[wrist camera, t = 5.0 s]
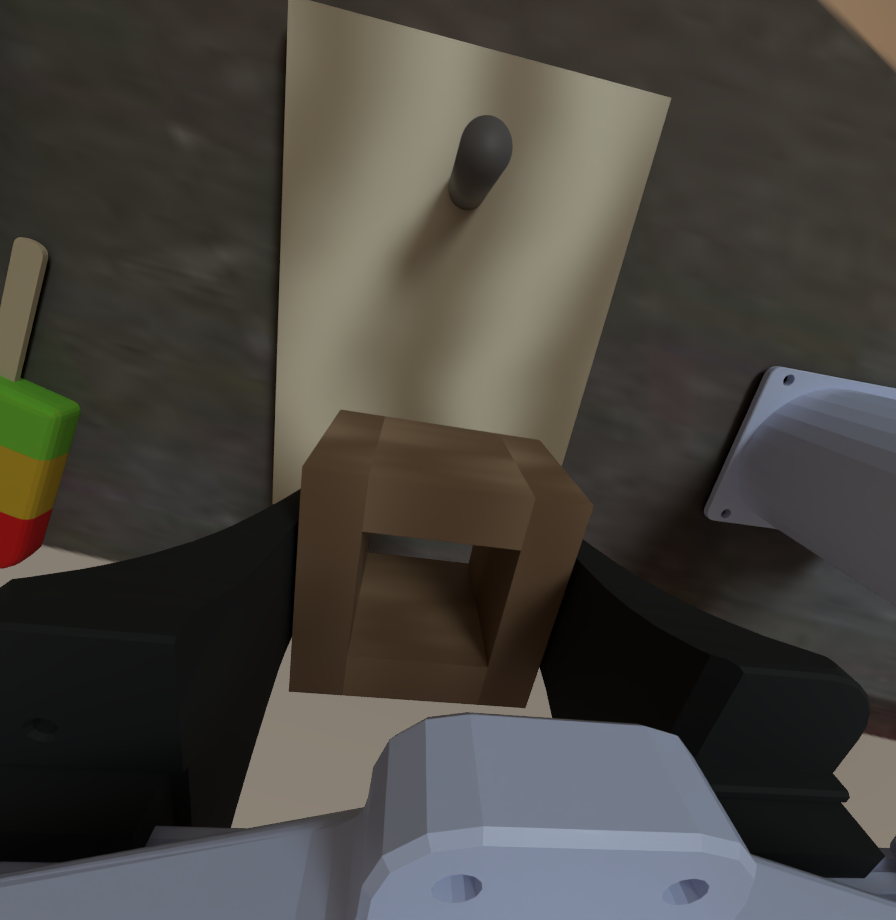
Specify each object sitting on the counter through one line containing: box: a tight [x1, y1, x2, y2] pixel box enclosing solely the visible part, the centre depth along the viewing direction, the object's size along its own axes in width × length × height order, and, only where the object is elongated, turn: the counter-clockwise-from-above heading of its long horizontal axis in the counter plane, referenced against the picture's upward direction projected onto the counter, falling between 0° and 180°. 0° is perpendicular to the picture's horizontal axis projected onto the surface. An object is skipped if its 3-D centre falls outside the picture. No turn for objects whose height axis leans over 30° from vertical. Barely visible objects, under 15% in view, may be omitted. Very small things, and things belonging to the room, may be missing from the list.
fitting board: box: [272, 0, 671, 504], centre depth 15 cm, size 13×18×6 cm
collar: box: [289, 409, 594, 708], centre depth 11 cm, size 6×6×4 cm
